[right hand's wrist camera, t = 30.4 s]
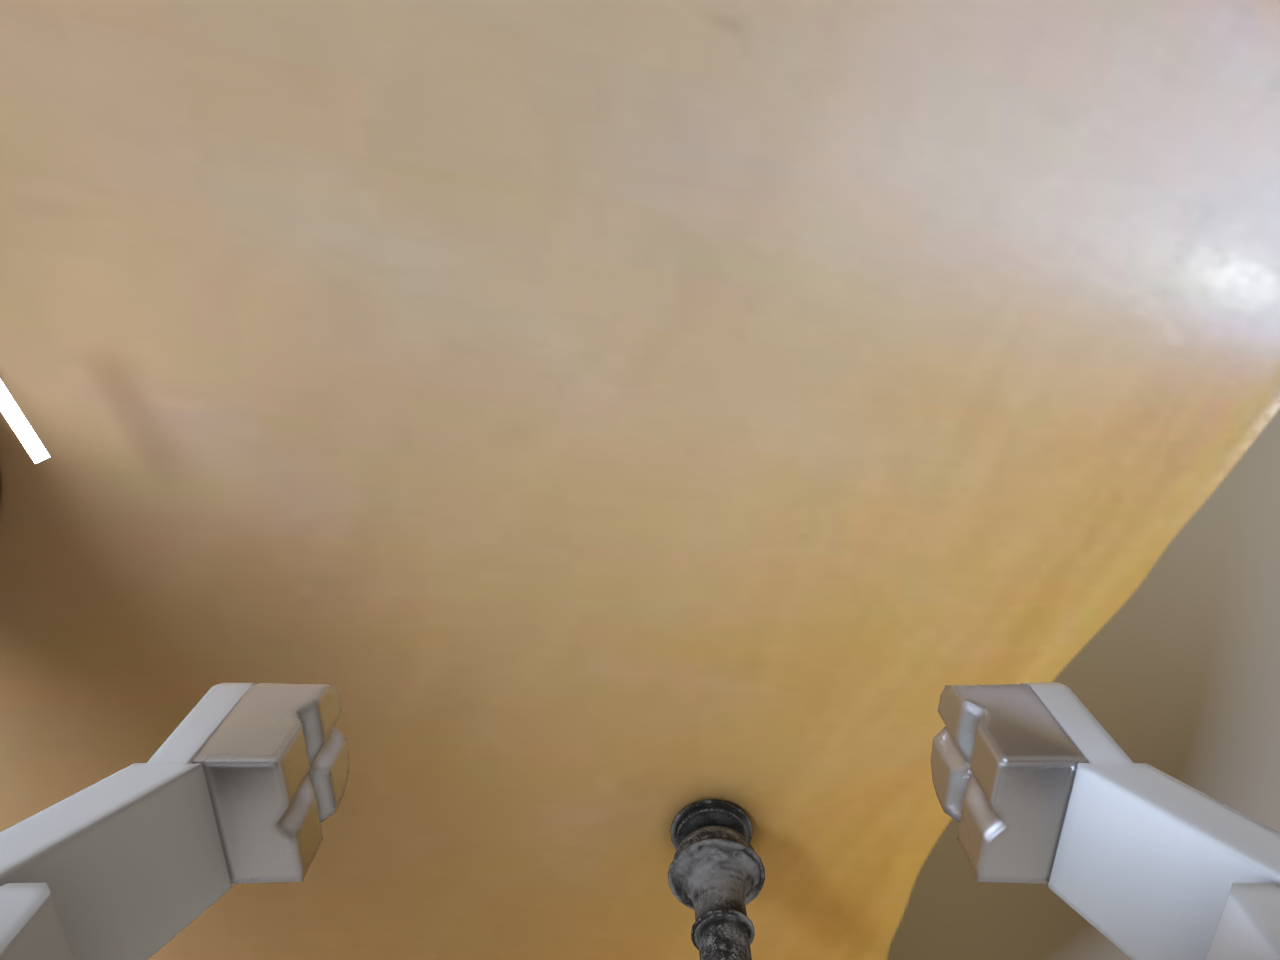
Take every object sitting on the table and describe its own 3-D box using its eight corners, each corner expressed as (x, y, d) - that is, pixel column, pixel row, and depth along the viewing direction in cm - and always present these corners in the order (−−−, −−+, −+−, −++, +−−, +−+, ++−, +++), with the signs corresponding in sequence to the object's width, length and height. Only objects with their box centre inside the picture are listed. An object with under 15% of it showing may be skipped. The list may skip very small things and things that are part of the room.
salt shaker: (761, 797, 50) (796, 976, 38) (752, 867, 52) (783, 1057, 41) (668, 794, 50) (677, 972, 38) (663, 865, 52) (670, 1054, 40)
